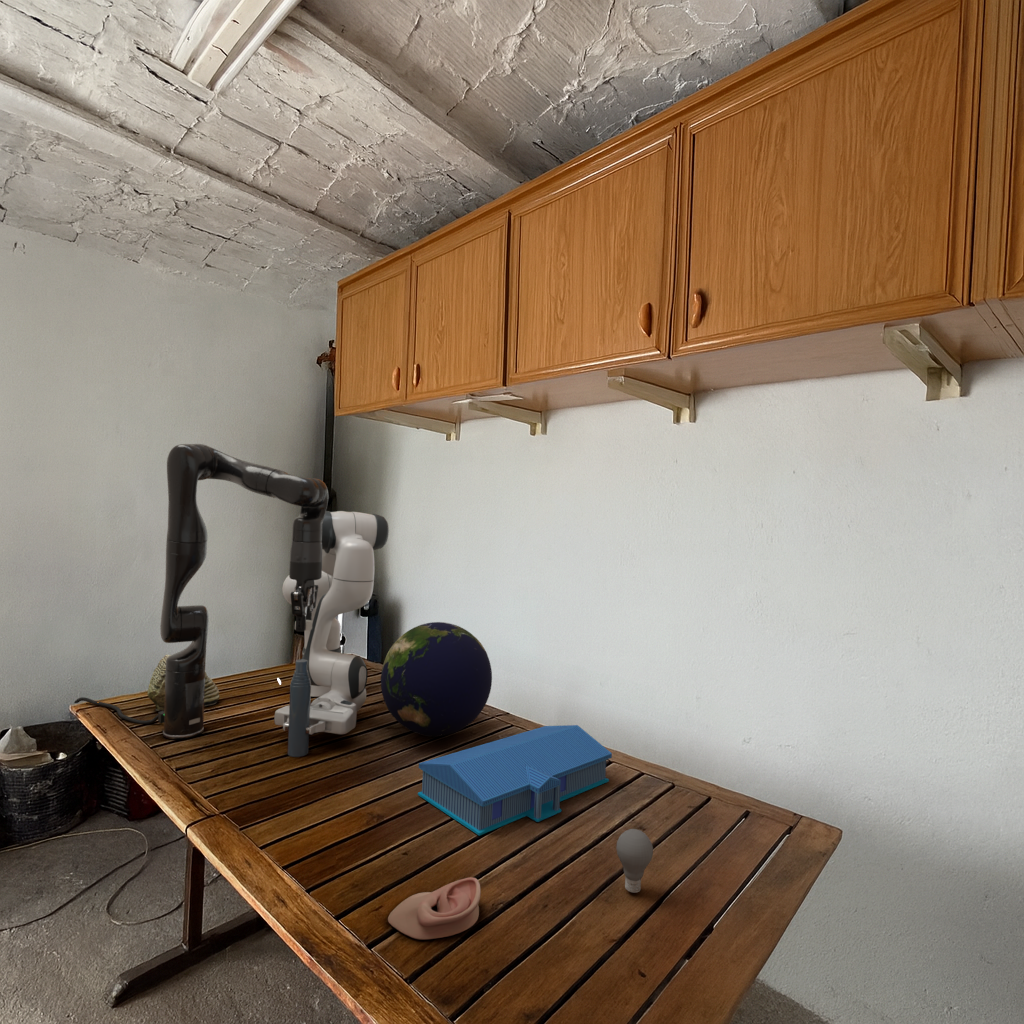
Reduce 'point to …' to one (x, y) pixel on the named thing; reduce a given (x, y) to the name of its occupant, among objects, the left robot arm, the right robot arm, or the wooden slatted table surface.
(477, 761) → the model building
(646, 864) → the light bulb
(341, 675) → the right robot arm
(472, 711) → the globe
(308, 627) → the cap
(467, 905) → the anatomical model
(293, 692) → the bottle
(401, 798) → the wooden slatted table surface
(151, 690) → the fossil
